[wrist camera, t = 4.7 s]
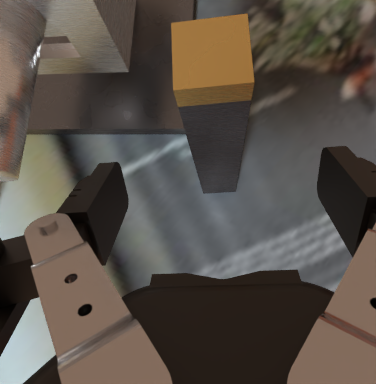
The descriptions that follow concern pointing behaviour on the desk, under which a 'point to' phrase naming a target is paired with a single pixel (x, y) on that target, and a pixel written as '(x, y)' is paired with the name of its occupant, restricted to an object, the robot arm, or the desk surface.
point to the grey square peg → (214, 94)
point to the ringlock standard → (85, 70)
